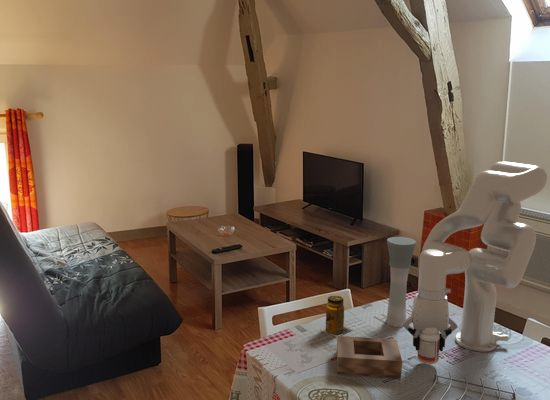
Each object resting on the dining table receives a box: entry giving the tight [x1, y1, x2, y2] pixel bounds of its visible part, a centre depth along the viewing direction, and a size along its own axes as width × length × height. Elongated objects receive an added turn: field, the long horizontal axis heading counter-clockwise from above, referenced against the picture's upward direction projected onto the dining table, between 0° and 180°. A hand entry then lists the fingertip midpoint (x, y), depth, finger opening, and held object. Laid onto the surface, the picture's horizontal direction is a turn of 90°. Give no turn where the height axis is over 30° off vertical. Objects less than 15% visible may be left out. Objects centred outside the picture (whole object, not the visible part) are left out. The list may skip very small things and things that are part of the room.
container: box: [385, 236, 417, 328], centre depth 179 cm, size 10×10×30 cm
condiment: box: [320, 295, 353, 338], centre depth 174 cm, size 7×8×12 cm
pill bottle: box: [417, 328, 440, 365], centre depth 153 cm, size 6×6×11 cm
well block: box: [336, 335, 403, 380], centre depth 153 cm, size 18×13×6 cm
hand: (428, 348), depth 153 cm, fingers closed on pill bottle, 6 cm apart
